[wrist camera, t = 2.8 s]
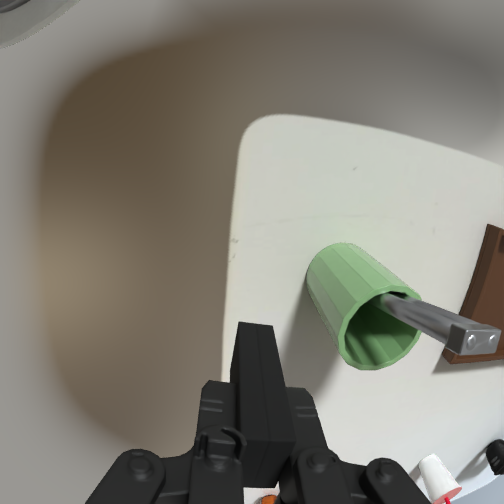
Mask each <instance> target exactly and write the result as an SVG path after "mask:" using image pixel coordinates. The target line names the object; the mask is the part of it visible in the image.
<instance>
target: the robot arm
mask: <svg viewBox="0 0 504 504" xmlns="http://www.w3.org/2000/svg"><path fill="white" fill-rule="evenodd" d="M28 1H30V0H0V13H5V12H8V11H11V10H13V9H16V8H18V7H20V6H22V5H23V4H25V3H27V2H28ZM315 408H316V407H315V404H314V400H313V397H312V396H311V395H310V394H309V393H308V391H307V390H306V389H305V388H292V387H285V382H284V377H283V372H282V368H281V363H280V358H279V353H278V349H277V344H276V339H275V334H274V330H273V326H271V325H262V324H254V323H246V322H239V323H238V328H237V334H236V340H235V345H234V351H233V357H232V362H231V368H230V383H227V382H219V381H212V380H209V381H208V382H207V383H206V384H205V385H204V387H203V388H202V392H201V400H200V407H199V415H198V424H197V432H196V437H195V441H194V446H193V447H192V448H191V450H189V451H188V452H187V453H185V454H183V455H181V456H176V457H168V458H159V456H158V455H156V454H154V453H152V452H151V451H147V450H143V449H131V450H129V451H126V452H123V453H122V454H121V455H120V456H119V457H118V458H117V459H116V461H115V462H114V463H113V465H112V466H111V468H110V469H109V470H108V472H107V473H106V475H105V476H104V477H103V479H102V480H101V482H100V483H99V484H98V486H97V487H96V489H95V490H94V491H93V493H92V494H91V496H90V497H89V498H88V500H87V501H86V503H85V504H244V491H243V487H248V488H275V487H276V485H277V483H278V482H279V489H280V492H279V494H278V496H277V498H276V500H275V501H274V503H273V504H431V502H430V501H429V500H428V499H427V497H426V496H425V495H424V494H423V492H422V491H421V490H420V489H419V488H418V486H417V485H416V484H415V483H414V481H413V480H412V479H411V478H410V476H409V475H408V474H407V473H406V471H405V470H404V469H403V468H402V466H401V465H399V464H398V463H397V462H396V461H394V460H391V459H388V458H378V459H374V460H373V461H371V462H370V463H369V464H368V465H367V466H363V465H357V464H351V463H347V462H343V461H341V460H340V459H339V457H338V456H337V454H335V453H334V452H333V451H332V450H330V449H328V446H327V443H326V440H325V437H324V433H323V430H322V427H321V423H320V420H319V417H318V413H317V410H316V409H315Z"/></svg>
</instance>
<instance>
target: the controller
mask: <svg viewBox="0 0 504 504" xmlns="http://www.w3.org/2000/svg"><path fill="white" fill-rule="evenodd" d="M486 457H487V460H488V462H489V464H490V466H491V469H492V471H493V472H494V475H499V474H500V475H502V474H504V441H503V440H500V439H498V440H495V441H494V442H493V443H492V444H491V445H490V446H489V447H488V449H487V451H486Z"/></svg>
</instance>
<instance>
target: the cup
mask: <svg viewBox="0 0 504 504" xmlns="http://www.w3.org/2000/svg"><path fill="white" fill-rule="evenodd" d="M418 466H419V469H420V472H421V475H422V478H423V481H424V483H425V486H426V489H427V492H428V495H429V498H430V501H431V504H443V503H445V502H446V504H450V501H449V500H450V499H451V498H453V497H454V496H455V495H457V494H458V493H459V492H460V490H461V489H462V487H460V486H459V485H458V483H457V482H456V480H455V479H454V478H453V476H452V475H451V474H450V472H449V471H448V470H447V468H446V467H445V466H444V464H443V463H442V462H441V461H440V459H439V458H438V457H437V456H436V454H431V455H428V456H426V457H425V458H423V459H422V460H421V461H420V462H419V464H418Z"/></svg>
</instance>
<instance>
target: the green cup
mask: <svg viewBox="0 0 504 504" xmlns="http://www.w3.org/2000/svg"><path fill="white" fill-rule="evenodd" d="M306 282H307V288H308V291H309V294H310V296H311V298H312V300H313V302H314V304H315V306H316V308H317V310H318V312H319V314H320V316H321V318H322V320H323V322H324V324H325V326H326V328H327V330H328V331H329V333H330V335H331V337H332V339H333V341H334V343H335V345H336V347H337V349H338V351H339V353H340V355H341V356H342V358H343V359H344V360H345V362H346V363H347V364H348V365H350V366H352V367H355V368H357V369H359V370H378V369H381V368H384V367H387V366H390V365H392V364H394V363H395V362H397V361H398V360H400V359H401V358H402V357H404V356H405V355H406V354H407V353H408V352H409V351H410V350H411V349H412V347H413V346H414V345H415V344H416V342H417V341H418V339H419V337H420V335H421V332H422V331H420V330H418V329H416V328H414V327H412V326H410V325H409V324H407V323H405V322H403V321H401V320H399V319H397V318H395V317H394V316H392V315H390V314H388V313H386V312H384V311H382V310H380V309H379V308H377V307H375V306H373V305H371V304H369V303H367V301H369V300H370V299H371V298H373V297H374V296H376V295H380V294H383V293H386V292H390V291H395V292H400V293H403V294H405V295H408V296H411V297H413V298H416V299H418V300H421V297H420V295H419V294H418V293H416V292H415V291H414V290H413V289H412V288H410V287H409V286H408V285H407V284H405V283H404V282H403V281H402V280H401V279H399V278H398V277H397V276H396V275H394V274H393V273H392V272H391V271H389V270H388V269H387V268H386V267H384V266H383V265H382V264H381V263H379V262H378V261H377V260H375V259H374V258H373V257H372V256H370V255H369V254H368V253H366V252H365V251H364V250H362V249H361V248H359V247H358V246H356V245H353V244H350V243H337V244H333V245H330V246H328V247H326V248H325V249H323V250H322V251H320V252H319V253H318V254H317V255H316V256H315V258H314V259H313V260H312V262H311V264H310V266H309V268H308V271H307V277H306ZM421 301H422V300H421Z"/></svg>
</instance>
